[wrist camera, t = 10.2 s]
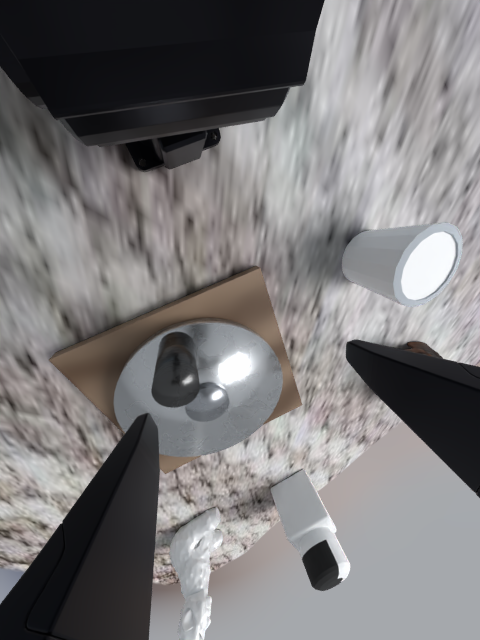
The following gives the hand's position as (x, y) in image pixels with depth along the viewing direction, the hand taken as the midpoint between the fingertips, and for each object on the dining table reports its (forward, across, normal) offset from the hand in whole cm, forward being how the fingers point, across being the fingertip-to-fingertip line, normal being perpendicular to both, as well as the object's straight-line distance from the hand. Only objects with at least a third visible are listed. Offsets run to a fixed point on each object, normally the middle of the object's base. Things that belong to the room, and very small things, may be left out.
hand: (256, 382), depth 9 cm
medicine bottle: (+13, -5, +40) cm, 42 cm away
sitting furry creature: (+13, +14, +39) cm, 44 cm away
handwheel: (+11, +4, +10) cm, 15 cm away
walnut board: (+13, +4, +10) cm, 17 cm away
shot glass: (+13, -17, 0) cm, 22 cm away
